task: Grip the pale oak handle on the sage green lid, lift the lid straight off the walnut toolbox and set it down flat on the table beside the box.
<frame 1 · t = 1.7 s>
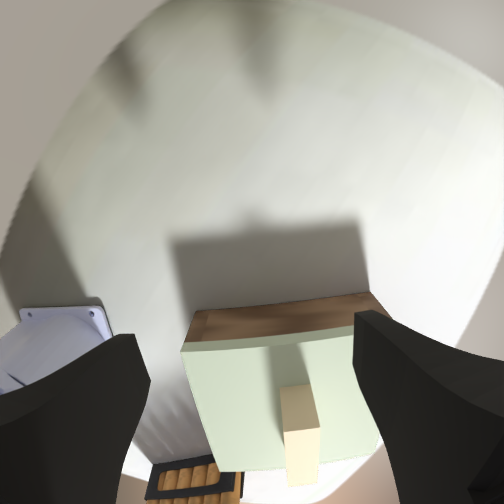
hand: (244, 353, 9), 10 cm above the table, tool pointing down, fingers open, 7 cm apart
toolbox lid: (293, 400, 19), point 3 cm above the table, touching toolbox
toolbox: (289, 372, 22), on the table
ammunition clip: (196, 461, 26), on the table
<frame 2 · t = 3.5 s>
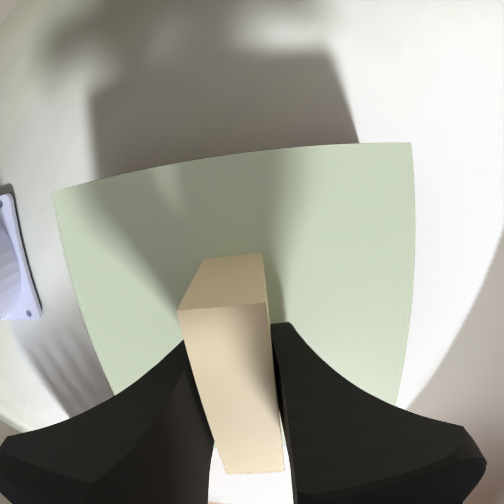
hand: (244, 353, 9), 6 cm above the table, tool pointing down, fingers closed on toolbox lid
toolbox lid: (246, 315, 12), point 3 cm above the table, touching gripper, toolbox
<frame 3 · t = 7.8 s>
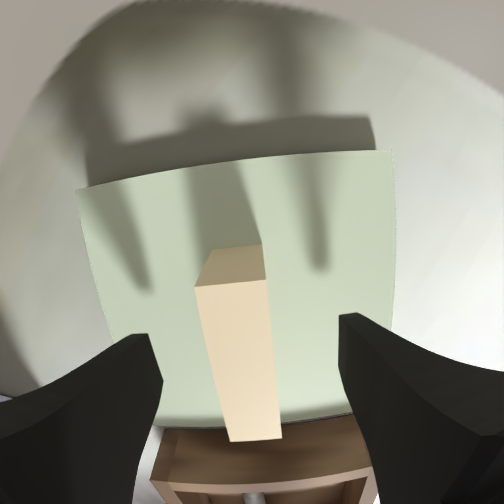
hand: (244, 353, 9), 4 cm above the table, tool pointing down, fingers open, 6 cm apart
toolbox lid: (247, 302, 13), on the table
toolbox: (274, 477, 17), on the table
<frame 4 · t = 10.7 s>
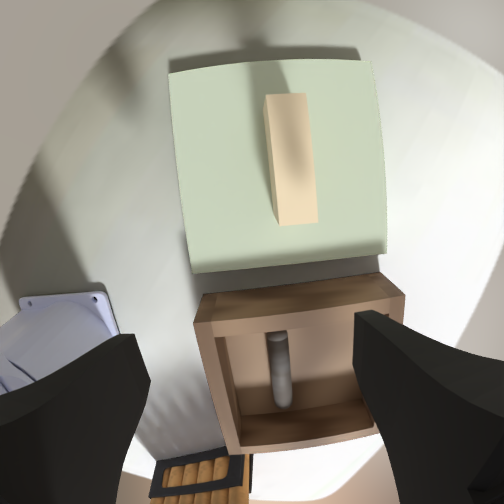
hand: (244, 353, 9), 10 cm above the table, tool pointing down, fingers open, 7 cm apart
toolbox lid: (281, 160, 18), on the table
toolbox: (299, 358, 21), on the table
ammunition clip: (202, 456, 25), on the table
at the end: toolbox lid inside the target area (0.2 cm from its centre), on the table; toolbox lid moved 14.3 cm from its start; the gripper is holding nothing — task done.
